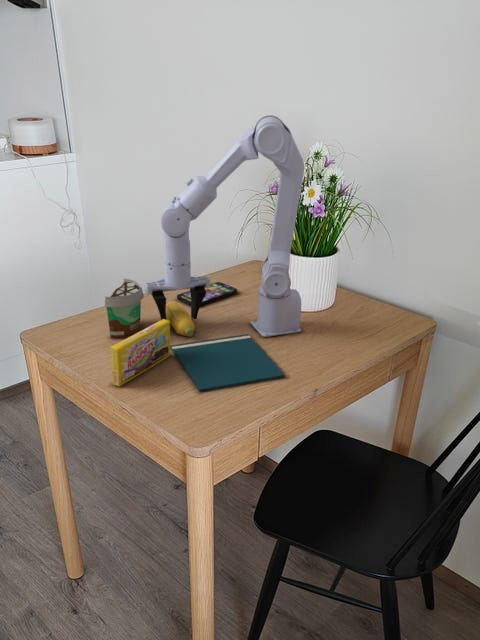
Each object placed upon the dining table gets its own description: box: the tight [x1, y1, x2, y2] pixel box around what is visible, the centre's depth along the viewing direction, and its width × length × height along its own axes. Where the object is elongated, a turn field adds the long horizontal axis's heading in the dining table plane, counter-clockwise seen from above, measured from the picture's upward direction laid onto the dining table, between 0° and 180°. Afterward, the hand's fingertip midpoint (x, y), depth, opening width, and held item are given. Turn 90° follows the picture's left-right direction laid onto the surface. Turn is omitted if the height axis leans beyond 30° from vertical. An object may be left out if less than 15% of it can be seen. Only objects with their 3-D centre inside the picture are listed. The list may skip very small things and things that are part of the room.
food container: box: [104, 278, 144, 339], centre depth 140 cm, size 12×6×10 cm, turn 168°
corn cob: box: [166, 300, 195, 337], centre depth 144 cm, size 4×15×4 cm, turn 21°
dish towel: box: [170, 333, 286, 393], centre depth 131 cm, size 18×20×1 cm
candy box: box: [110, 319, 171, 388], centre depth 125 cm, size 16×2×8 cm, turn 148°
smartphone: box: [176, 281, 238, 306], centre depth 161 cm, size 8×1×15 cm
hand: (179, 319), depth 145 cm, fingers open, 7 cm apart
